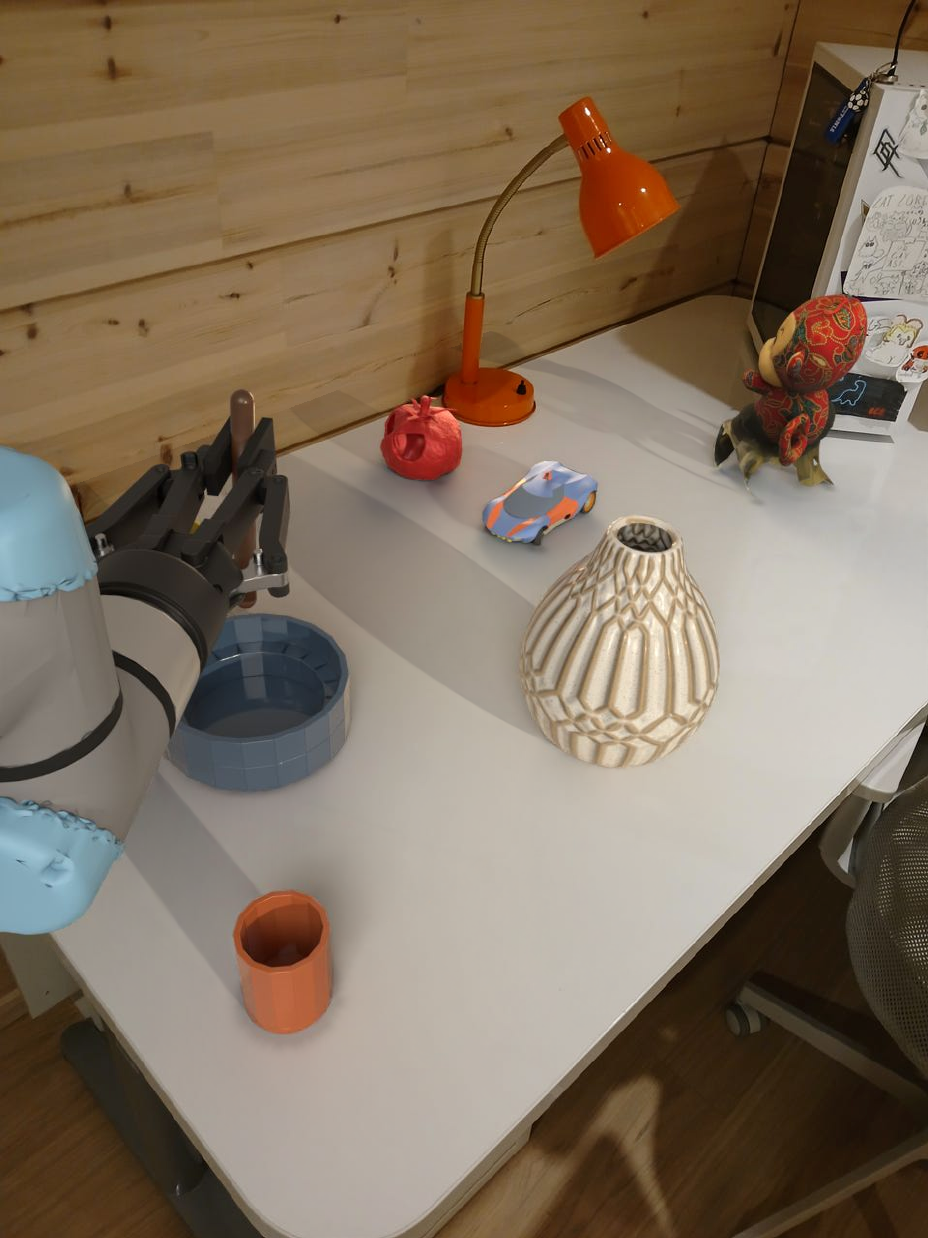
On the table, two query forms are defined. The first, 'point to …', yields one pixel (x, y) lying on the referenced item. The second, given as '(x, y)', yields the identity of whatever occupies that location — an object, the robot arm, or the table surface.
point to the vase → (622, 650)
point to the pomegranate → (422, 440)
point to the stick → (240, 435)
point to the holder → (284, 960)
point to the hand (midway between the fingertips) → (253, 433)
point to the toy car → (540, 503)
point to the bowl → (264, 706)
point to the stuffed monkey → (796, 389)
